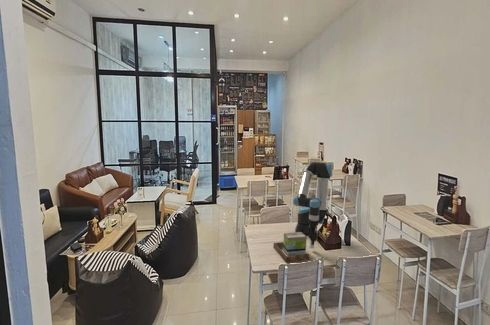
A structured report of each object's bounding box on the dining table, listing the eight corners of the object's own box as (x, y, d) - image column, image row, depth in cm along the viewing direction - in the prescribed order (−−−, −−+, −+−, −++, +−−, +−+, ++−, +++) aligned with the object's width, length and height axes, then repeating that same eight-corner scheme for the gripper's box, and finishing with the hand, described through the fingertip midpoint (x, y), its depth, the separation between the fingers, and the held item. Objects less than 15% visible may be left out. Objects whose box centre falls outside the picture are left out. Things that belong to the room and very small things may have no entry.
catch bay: (294, 245, 235) (294, 240, 235) (309, 259, 212) (309, 254, 211) (273, 247, 230) (273, 242, 230) (285, 262, 207) (285, 257, 206)
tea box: (287, 256, 216) (288, 238, 214) (282, 250, 226) (283, 232, 223) (305, 254, 220) (306, 236, 217) (300, 248, 229) (301, 231, 227)
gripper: (305, 216, 227) (303, 244, 231) (313, 222, 215) (311, 252, 219) (313, 216, 229) (312, 243, 233) (322, 222, 217) (320, 251, 221)
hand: (311, 247), depth 226 cm, fingers closed
